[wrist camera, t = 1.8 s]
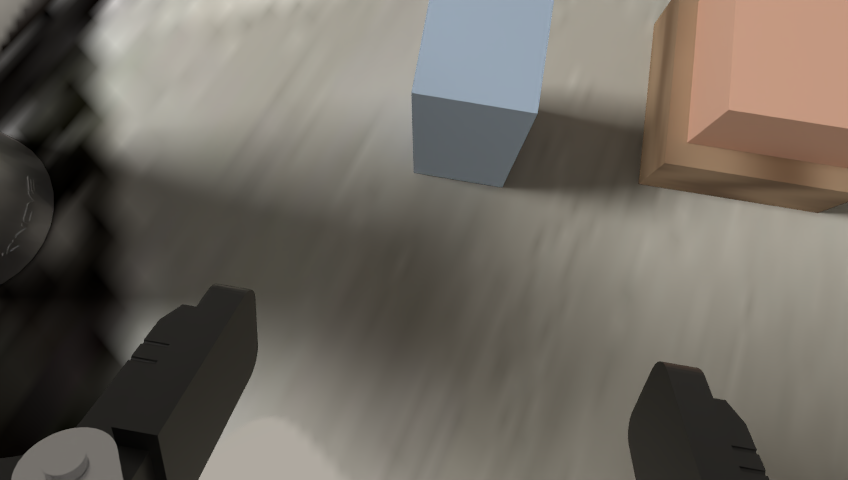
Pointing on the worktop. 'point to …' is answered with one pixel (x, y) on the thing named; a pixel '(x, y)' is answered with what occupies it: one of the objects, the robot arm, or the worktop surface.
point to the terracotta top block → (772, 78)
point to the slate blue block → (477, 86)
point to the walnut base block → (710, 166)
